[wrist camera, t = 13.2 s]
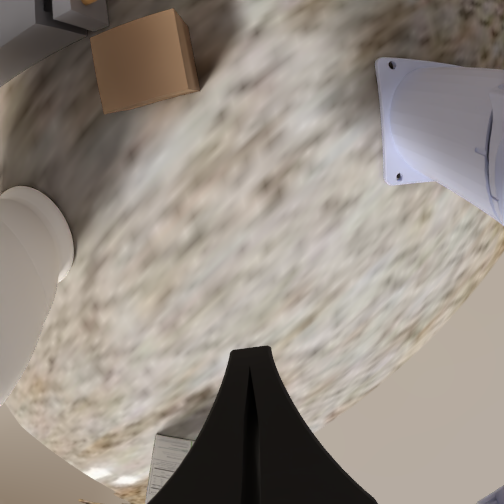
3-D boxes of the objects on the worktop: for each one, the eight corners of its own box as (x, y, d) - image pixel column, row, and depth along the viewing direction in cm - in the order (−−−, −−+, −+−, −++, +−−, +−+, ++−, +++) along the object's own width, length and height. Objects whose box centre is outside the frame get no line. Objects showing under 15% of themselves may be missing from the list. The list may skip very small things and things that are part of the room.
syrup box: (194, 454, 36) (189, 542, 23) (153, 447, 35) (143, 534, 22) (198, 440, 33) (194, 540, 20) (153, 432, 32) (140, 531, 19)
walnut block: (188, 27, 13) (173, 8, 9) (200, 90, 14) (188, 89, 11) (120, 47, 13) (89, 37, 9) (132, 109, 15) (104, 114, 11)
